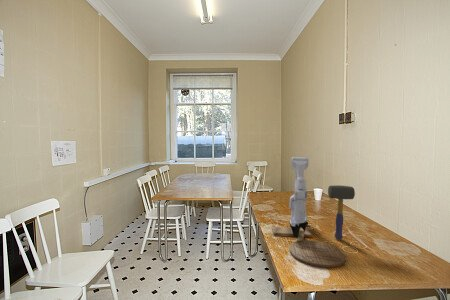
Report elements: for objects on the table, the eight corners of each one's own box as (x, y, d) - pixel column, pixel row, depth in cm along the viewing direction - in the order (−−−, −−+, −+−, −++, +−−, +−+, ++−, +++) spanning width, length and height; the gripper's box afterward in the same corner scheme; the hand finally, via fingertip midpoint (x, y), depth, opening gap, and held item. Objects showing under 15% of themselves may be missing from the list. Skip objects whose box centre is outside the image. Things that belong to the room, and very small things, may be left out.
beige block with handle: (298, 232, 145) (298, 222, 145) (304, 241, 132) (304, 231, 132) (292, 231, 146) (292, 222, 145) (297, 241, 132) (297, 231, 132)
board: (307, 231, 147) (307, 228, 147) (311, 237, 138) (311, 234, 138) (271, 229, 148) (271, 226, 148) (273, 235, 139) (273, 232, 139)
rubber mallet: (328, 241, 134) (331, 186, 132) (324, 235, 141) (327, 183, 140) (352, 243, 132) (356, 187, 130) (347, 237, 140) (350, 184, 138)
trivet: (353, 272, 104) (353, 267, 103) (292, 265, 108) (292, 261, 107) (336, 246, 128) (336, 242, 128) (287, 241, 132) (287, 238, 132)
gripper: (299, 207, 143) (298, 230, 143) (286, 212, 132) (285, 237, 133) (311, 210, 138) (309, 234, 139) (298, 215, 127) (297, 241, 128)
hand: (298, 236), depth 135 cm, fingers open, 6 cm apart
